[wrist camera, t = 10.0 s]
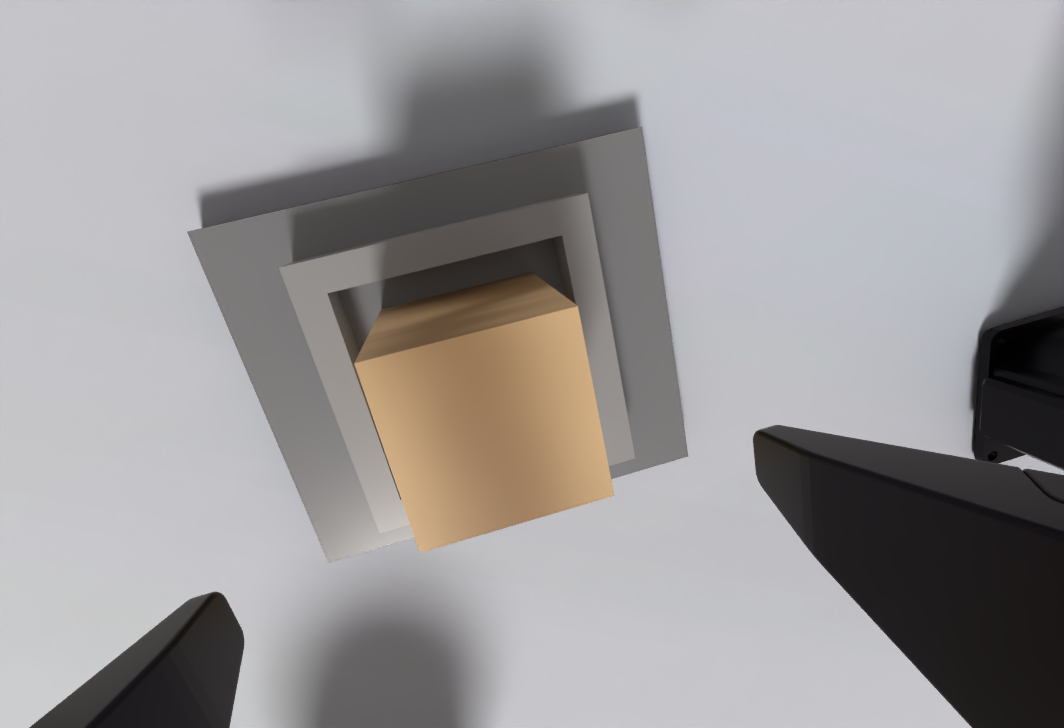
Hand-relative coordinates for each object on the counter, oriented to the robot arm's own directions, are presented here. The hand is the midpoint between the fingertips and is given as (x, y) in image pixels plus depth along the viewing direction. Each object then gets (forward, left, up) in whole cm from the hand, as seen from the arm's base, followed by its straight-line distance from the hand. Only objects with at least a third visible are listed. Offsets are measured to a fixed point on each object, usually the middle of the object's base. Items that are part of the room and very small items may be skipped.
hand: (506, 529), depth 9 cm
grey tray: (0, 0, -11) cm, 11 cm away
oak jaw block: (0, 0, -10) cm, 10 cm away
